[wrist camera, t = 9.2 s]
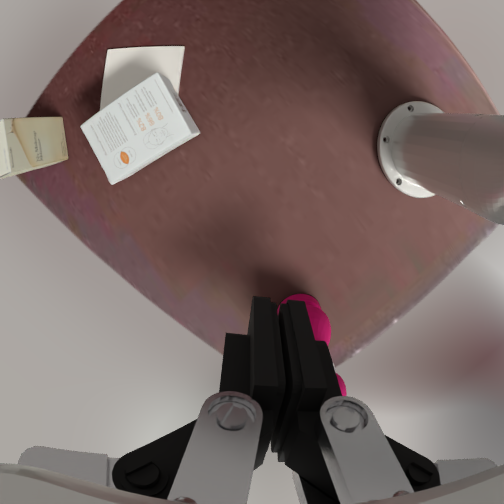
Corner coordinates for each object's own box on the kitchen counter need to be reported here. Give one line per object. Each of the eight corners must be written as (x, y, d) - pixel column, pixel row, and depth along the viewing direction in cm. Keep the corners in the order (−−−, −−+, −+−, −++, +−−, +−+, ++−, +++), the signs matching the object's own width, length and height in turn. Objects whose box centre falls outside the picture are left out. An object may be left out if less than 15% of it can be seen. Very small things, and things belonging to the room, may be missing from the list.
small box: (170, 77, 32) (99, 124, 34) (157, 70, 27) (78, 125, 29) (201, 134, 35) (128, 177, 37) (193, 135, 30) (110, 186, 31)
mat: (184, 47, 31) (184, 46, 31) (173, 142, 35) (172, 142, 35) (109, 50, 31) (107, 49, 30) (99, 140, 35) (97, 140, 35)
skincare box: (69, 158, 36) (12, 175, 24) (45, 166, 36) (-12, 185, 25) (62, 114, 33) (4, 117, 22) (38, 124, 34) (-21, 131, 22)
